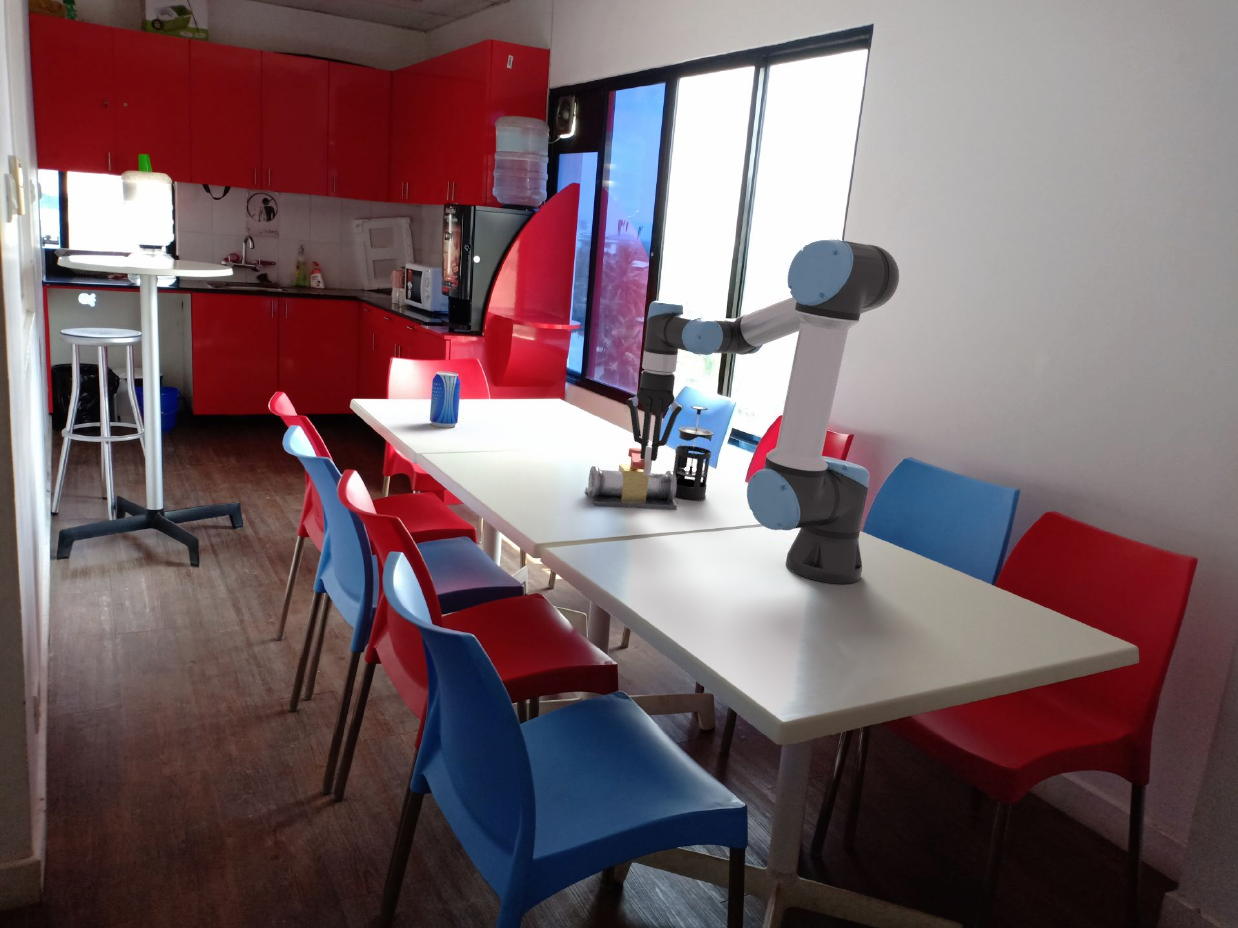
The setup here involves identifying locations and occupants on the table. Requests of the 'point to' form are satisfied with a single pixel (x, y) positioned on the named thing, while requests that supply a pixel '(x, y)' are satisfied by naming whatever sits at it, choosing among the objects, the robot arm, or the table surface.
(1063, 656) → the table surface
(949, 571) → the table surface
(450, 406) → the beer can
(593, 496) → the valve body
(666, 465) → the table surface
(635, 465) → the lever
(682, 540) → the table surface
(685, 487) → the french press
